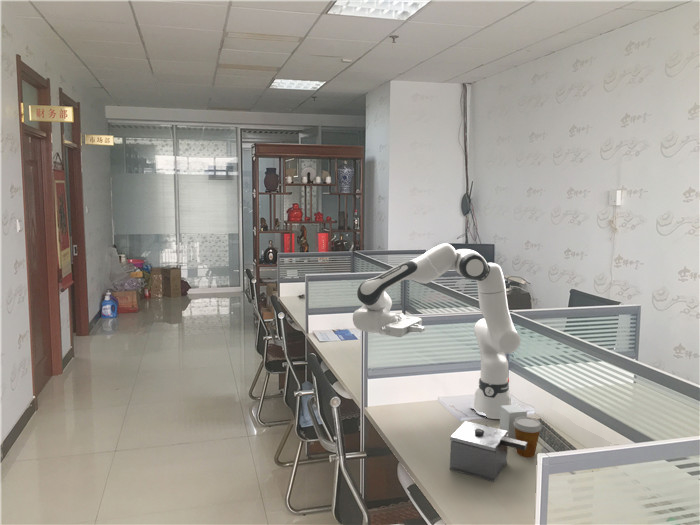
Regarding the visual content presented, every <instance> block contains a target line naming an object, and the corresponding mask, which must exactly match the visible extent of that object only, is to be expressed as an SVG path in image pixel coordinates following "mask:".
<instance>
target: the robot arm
mask: <svg viewBox="0 0 700 525" xmlns="http://www.w3.org/2000/svg"><path fill="white" fill-rule="evenodd" d="M453 270H454V271H456V272H457V273H458V275H460V276H462V277H463V278H465V279H467V280H471V281H476V284H477V293H478V294H477V296H478V304H479V310H480V312H481V314H482V316H483V318H481V319H479V320H477V321H476V323H475V325H474V329H473V332H474V335H475V337H476V340H477V344H478V350H479V356H480V378H478V379H479V380H478V388H477V389H475V392H474V399H473V400H474V401H473V403H472V404H471V405H470V406H473V405H474V408H475V409H476V410H477V411H479V412H483V413H485V414H486V416H487V418H486V419H492V420H500V408H501V406H505V405H512V404H511V401H513V400H512V398H513V397H512V396H513V395H512V394H513V393H512V392H511V391H510V390H509V388H510V378H508V376H509V361H508V359H507V356H506V354H512V353H515V352H516V351H518V348H519V347H520V346H521V337H520V334H519V333H518V332H517V330H516V327H515V325H514V322H513V320H512V317H511V314H510V310H509V305H508V298H507V289H506V282H505V277H504V273H503V270H502V268H501V266H500V265H499V264H497V263H494V262H487V261H486V259H485V258H484V256H482V255H481V254H480V253H479V252H477V251H475V250H473V249H470V248H466V247H465V248H462V247H461V248H455V247H454V246H452V244H450V243H448V242H446V243H441V244H438V245H437V246H434V247H433V248H431V249H429V250H427V251H426V252H425V253H423V254H421V255H420V256H418V257H415V258H413V259H412V260H406V261H403V262H402V263H400V264H398V265H396V266H393V267H392V268H390V269H389V270H387V271H384V272H383V273H380V275H377V276H374V277H371V278H368V279H365V280H364V281H362V283H360V285H359V287H358V289H357V293H356V295H357V298H358V300H359V301H360V302H361V303H362V304H363V305H361V307H359V308H358V309H355V310H354V312H353V315H352V321H353V325H354V327H355V329H358V330H359V331H363V332H366V333H371V334H374V333H377V334H379V335H382V336H383V335H384V336H390V337H395V338H402V337H404V336H406V335H408V334H410V333H411V334H412V333H423V332H425V330H426V326H424V325H423V323H422V322H423V321H422V320H423V319H422V318H421V317H417V316H413V315H409V314H408V315H407V314H404V313H403V312H395V313H394V312H391V310H392V308H393V300H392V298H391V297H390V295H389V293H388V292H386V291H387V290H388V289H389V288H392V287H394V286H395V285H397V284H398V283H400V282H402V281H406V280H410V281H414V282H416V283H419V284H428V283H429V284H430V283H431V282H433V281H435V280H436V279H438V278H439V277H441V276H442V275H444V274H445V273H447V272H449V271H453ZM422 325H423V326H422Z"/></svg>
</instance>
